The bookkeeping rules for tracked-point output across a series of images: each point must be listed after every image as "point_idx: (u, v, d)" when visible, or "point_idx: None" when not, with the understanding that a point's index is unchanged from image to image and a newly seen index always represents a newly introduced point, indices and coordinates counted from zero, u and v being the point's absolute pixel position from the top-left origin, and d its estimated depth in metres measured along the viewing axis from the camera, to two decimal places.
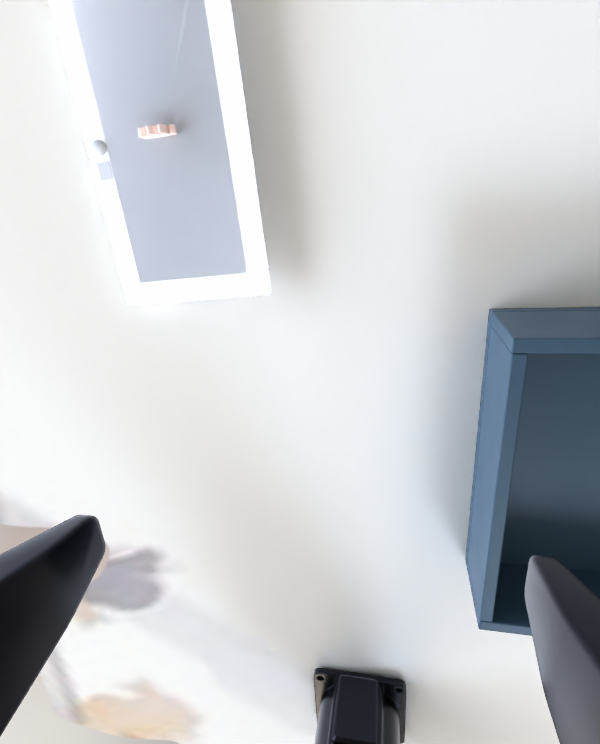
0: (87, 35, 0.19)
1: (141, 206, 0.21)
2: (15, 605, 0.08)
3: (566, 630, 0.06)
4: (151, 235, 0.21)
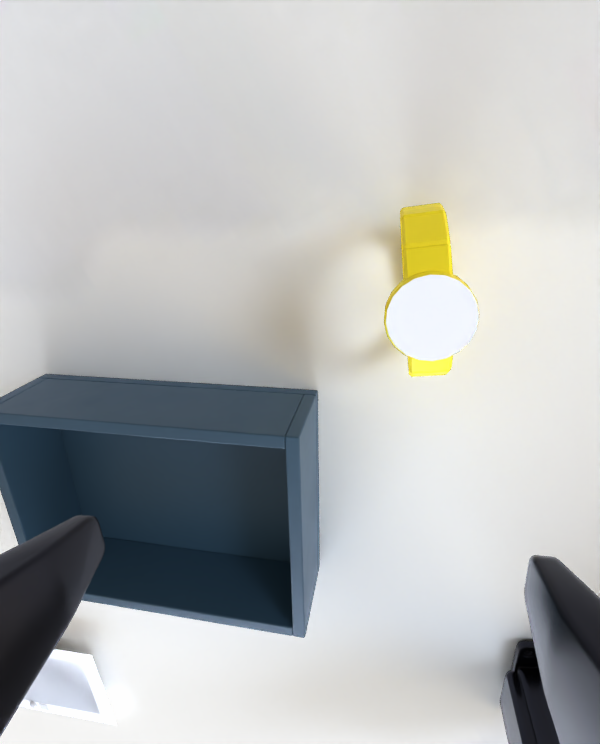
0: None
1: (57, 698, 0.35)
2: (15, 605, 0.08)
3: (566, 630, 0.06)
4: (72, 699, 0.34)
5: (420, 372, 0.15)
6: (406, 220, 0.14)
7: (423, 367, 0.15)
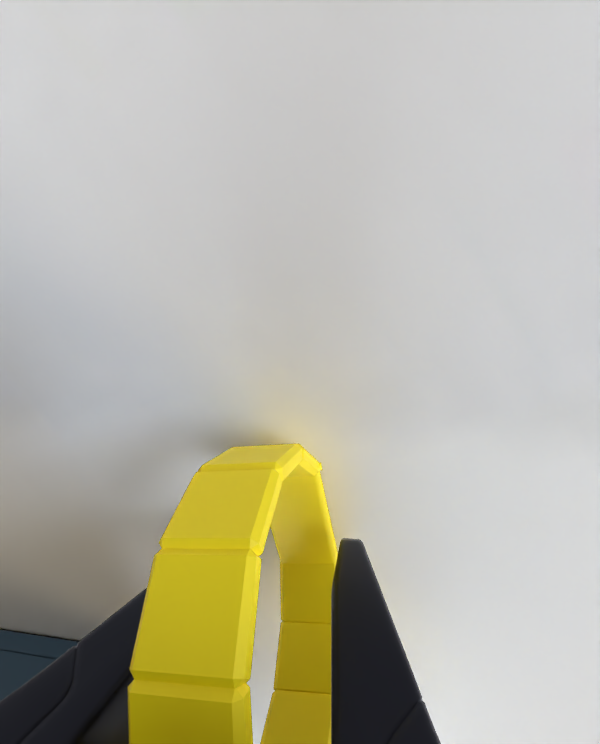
0: None
1: None
2: None
3: None
4: None
5: None
6: (159, 566, 0.05)
7: None
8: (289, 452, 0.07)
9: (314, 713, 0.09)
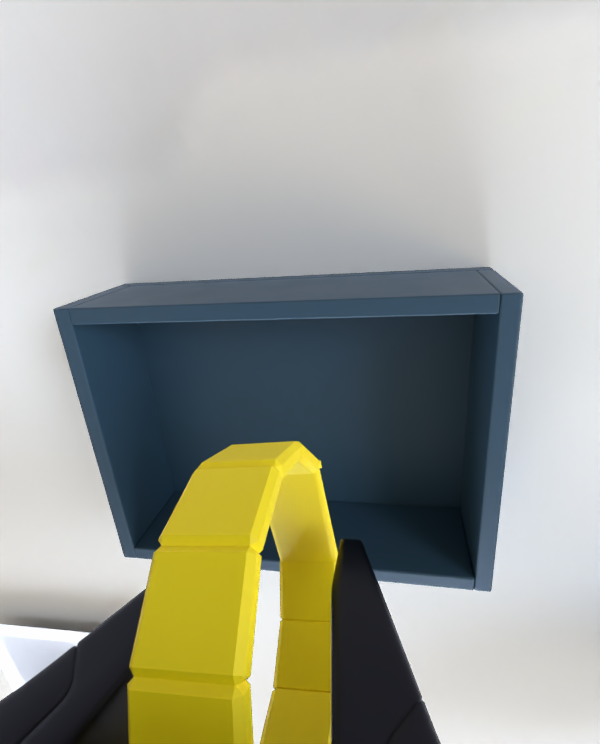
0: None
1: None
2: None
3: None
4: None
5: None
6: (159, 563, 0.05)
7: None
8: (289, 449, 0.07)
9: (314, 711, 0.09)
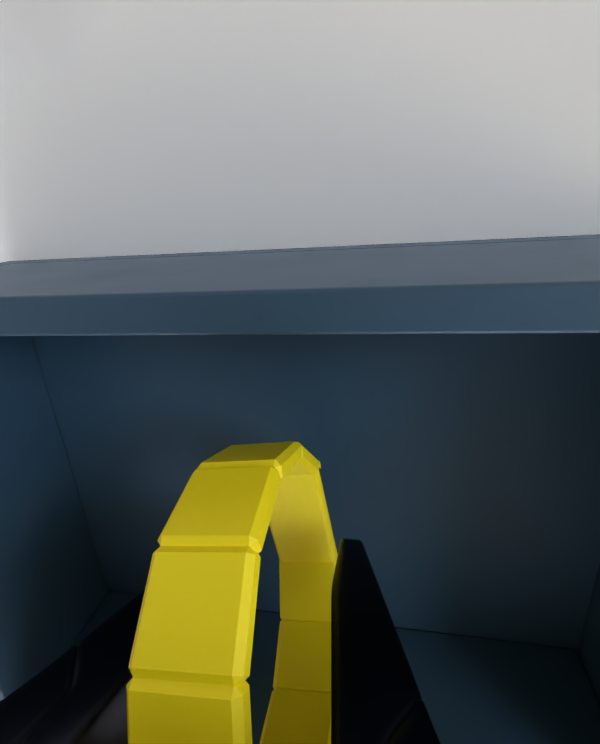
0: None
1: None
2: None
3: None
4: None
5: None
6: (158, 563, 0.05)
7: None
8: (288, 450, 0.07)
9: (313, 711, 0.09)
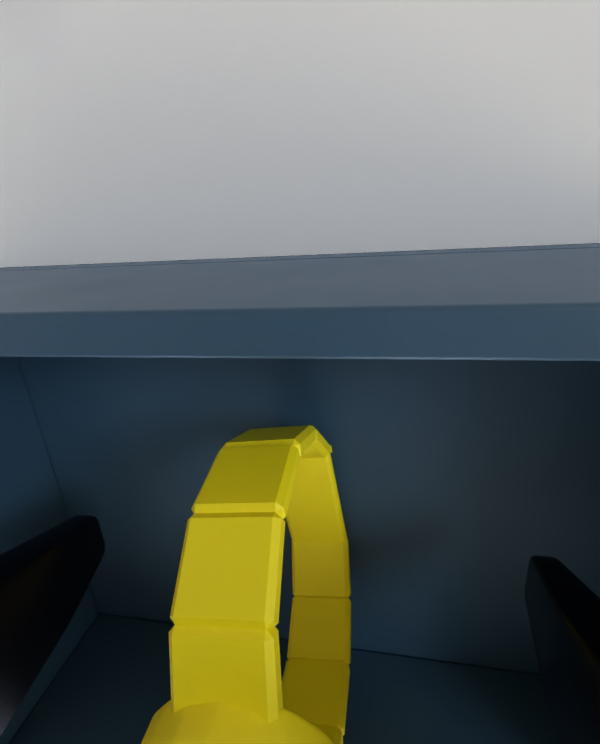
0: None
1: None
2: (15, 605, 0.08)
3: (566, 630, 0.06)
4: None
5: None
6: (193, 527, 0.06)
7: None
8: (305, 431, 0.08)
9: (326, 677, 0.09)
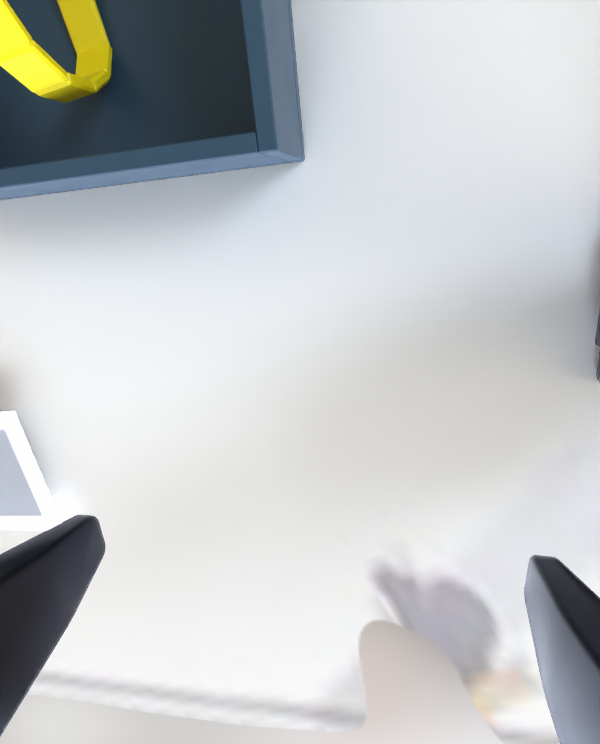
0: None
1: None
2: (15, 605, 0.08)
3: (566, 630, 0.06)
4: (4, 498, 0.26)
5: (6, 60, 0.13)
6: None
7: None
8: None
9: None
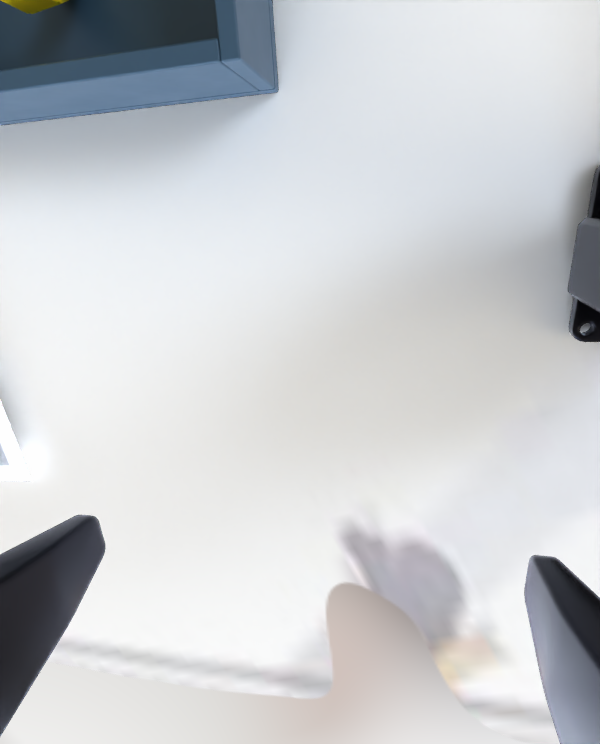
0: None
1: None
2: (15, 605, 0.08)
3: (566, 630, 0.06)
4: None
5: None
6: None
7: None
8: None
9: None
